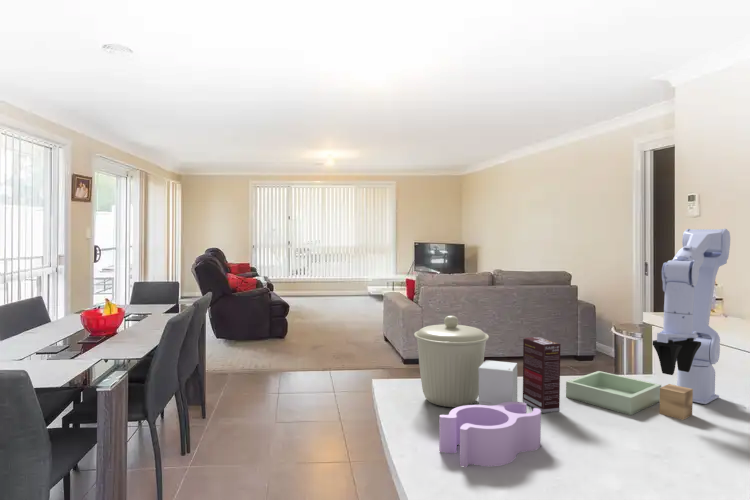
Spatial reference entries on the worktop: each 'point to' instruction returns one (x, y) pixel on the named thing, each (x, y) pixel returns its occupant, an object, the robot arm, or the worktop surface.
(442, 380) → the canister
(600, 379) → the bin
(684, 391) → the oak block
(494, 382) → the supplement box
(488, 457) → the clip
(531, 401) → the supplement box
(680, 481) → the worktop surface
